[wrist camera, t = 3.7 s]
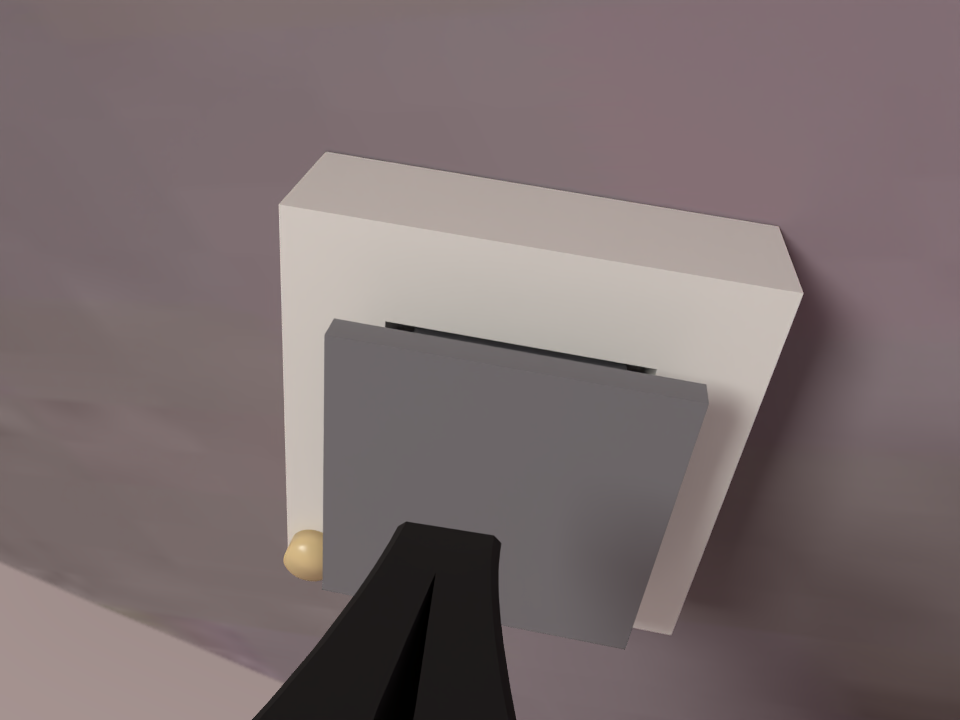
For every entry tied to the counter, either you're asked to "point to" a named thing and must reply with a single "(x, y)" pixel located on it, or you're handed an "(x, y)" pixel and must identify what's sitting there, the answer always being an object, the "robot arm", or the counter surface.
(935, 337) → the counter surface
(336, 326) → the switch
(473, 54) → the counter surface
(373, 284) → the box
